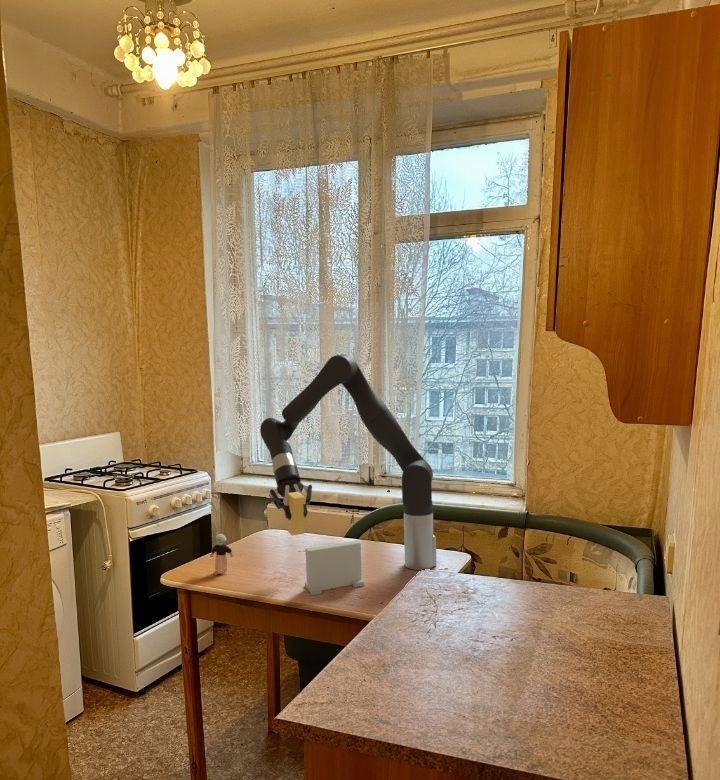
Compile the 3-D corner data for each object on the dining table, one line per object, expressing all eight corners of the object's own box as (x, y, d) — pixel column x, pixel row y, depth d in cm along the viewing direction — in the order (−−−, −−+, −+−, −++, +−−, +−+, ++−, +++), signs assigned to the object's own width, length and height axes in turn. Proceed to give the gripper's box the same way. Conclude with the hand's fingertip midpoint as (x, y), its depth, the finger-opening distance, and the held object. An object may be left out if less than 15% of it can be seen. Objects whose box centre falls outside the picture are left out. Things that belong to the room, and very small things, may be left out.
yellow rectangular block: (301, 530, 172) (299, 491, 172) (308, 537, 165) (306, 497, 164) (288, 531, 171) (286, 493, 170) (295, 539, 163) (293, 498, 163)
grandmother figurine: (208, 576, 174) (206, 536, 173) (211, 571, 177) (209, 532, 177) (233, 575, 174) (231, 535, 173) (235, 571, 178) (234, 531, 177)
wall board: (355, 577, 170) (354, 538, 169) (364, 585, 164) (363, 545, 163) (304, 586, 164) (303, 546, 164) (311, 595, 158) (310, 553, 157)
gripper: (264, 466, 173) (275, 514, 162) (309, 461, 178) (322, 507, 168) (262, 480, 178) (272, 527, 168) (305, 474, 183) (318, 520, 173)
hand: (297, 517), depth 168 cm, fingers closed on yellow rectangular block, 4 cm apart
